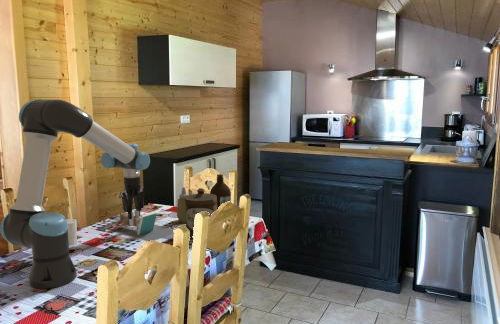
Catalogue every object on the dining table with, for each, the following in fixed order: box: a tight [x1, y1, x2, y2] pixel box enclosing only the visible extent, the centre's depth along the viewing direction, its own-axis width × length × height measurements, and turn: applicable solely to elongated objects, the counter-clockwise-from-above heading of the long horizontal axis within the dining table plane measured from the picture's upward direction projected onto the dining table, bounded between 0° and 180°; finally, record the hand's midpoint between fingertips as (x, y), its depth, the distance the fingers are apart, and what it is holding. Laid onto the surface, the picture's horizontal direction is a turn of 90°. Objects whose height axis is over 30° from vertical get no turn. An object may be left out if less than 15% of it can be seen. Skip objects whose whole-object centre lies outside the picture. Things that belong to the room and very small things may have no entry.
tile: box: [137, 211, 158, 235], centre depth 196 cm, size 8×2×10 cm, turn 143°
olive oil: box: [209, 173, 232, 209], centre depth 213 cm, size 11×11×25 cm
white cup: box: [66, 218, 78, 246], centre depth 186 cm, size 8×8×10 cm
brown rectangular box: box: [119, 213, 141, 230], centre depth 202 cm, size 17×8×5 cm, turn 53°
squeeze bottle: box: [176, 186, 190, 224], centre depth 216 cm, size 8×8×18 cm
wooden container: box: [185, 188, 217, 239], centre depth 195 cm, size 15×15×22 cm
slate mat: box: [122, 224, 174, 242], centre depth 199 cm, size 18×20×1 cm
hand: (134, 224), depth 202 cm, fingers closed on brown rectangular box, 2 cm apart
